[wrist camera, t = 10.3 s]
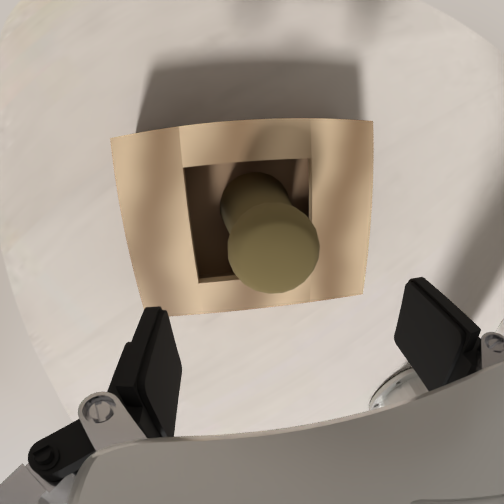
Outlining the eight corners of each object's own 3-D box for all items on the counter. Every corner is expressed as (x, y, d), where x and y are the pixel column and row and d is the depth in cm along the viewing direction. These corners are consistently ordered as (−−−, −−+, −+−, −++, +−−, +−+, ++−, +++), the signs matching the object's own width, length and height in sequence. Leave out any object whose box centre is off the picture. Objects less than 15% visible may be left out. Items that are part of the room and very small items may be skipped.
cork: (206, 193, 24) (197, 240, 14) (271, 159, 24) (309, 182, 14) (240, 251, 27) (253, 327, 17) (300, 220, 26) (348, 279, 16)
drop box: (341, 121, 23) (373, 121, 18) (338, 263, 29) (362, 294, 24) (134, 135, 22) (110, 138, 17) (158, 281, 28) (146, 317, 22)
